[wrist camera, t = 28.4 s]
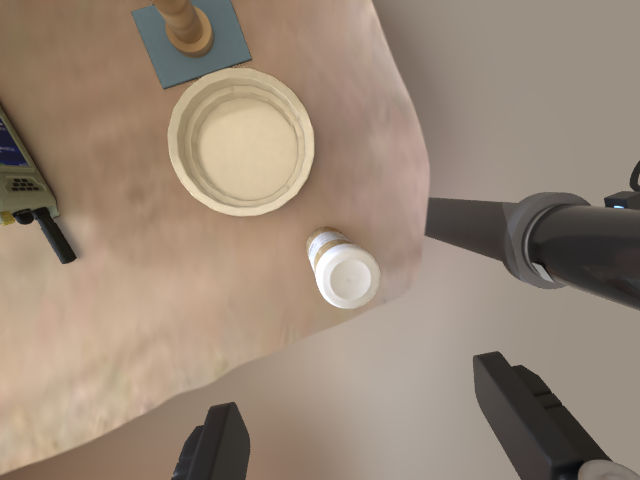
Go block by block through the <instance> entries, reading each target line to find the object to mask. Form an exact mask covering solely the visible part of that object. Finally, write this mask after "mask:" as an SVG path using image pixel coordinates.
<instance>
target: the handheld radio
mask: <svg viewBox="0 0 640 480" xmlns="http://www.w3.org/2000/svg"><path fill="white" fill-rule="evenodd" d="M21 213H22V214H21ZM14 214H15V215H14ZM17 214H18V215H17ZM12 215H13V216H12ZM59 215H60V213H59V211H58V208H57V206H56V200H55V198H54V196H53V195H52V193H51V191H50V189H49V188H48V186H47V184H46V183H45V181H44V179H43V178H42V176H41V174H40V173H39V171H38V169H37V167H36V166H35V164H34V162H33V161H32V159H31V157H30V156H29V154H28V152H27V150H26V149H25V147H24V145H23V144H22V142H21V140H20V139H19V137H18V135H17V133H16V132H15V130H14V128H13V127H12V125H11V123H10V122H9V120H8V118H7V116H6V115H5V113H4V111H3V110H2V108H1V106H0V224H2V225H9V224H12V223H14V222H15V219H16V220H17V222H18V223H20V224H23V225H26V224H30V223H32V222H33V220H34V218H35V220H37V221H38V223H39V224H40V226H41V229H42V231H43V233H44V234H45V236H46V238H47V239H48V241H49V243H50V244H51V246H52V248H53V249H54V251H55V253H56V254H57V256H58V258H59V259H60V261H61V263H62V264H67V263H70V262H72V261H74V260H75V259H76V258H77V257H76V255H75V254H74V252H73V250H72V249H71V247H70V245H69V244H68V242H67V240H66V239H65V237H64V235H63V234H62V232H61V230H60V229H59V227H58V225H57V224H56V223H54V221H53V219H52V218H54V217H56V216H59ZM13 218H15V219H13Z"/></svg>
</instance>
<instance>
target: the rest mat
mask: <svg viewBox="0 0 640 480" xmlns="http://www.w3.org/2000/svg"><path fill="white" fill-rule="evenodd" d="M191 2H192V4H193V6H195V7H197V8H199V9H200V10H202V11H203V12H204V13H205V15H206V16H207V18H208V20H209V22H210V24H211V26H212V29H213V32H214V43H213V46H212V48H211V50H210V51H209V52H208V53H207V54H206V55H204V56H202V57H199V58H189V57H186V56H184V55H182V54H181V53H180V52H178V51H177V49H176V48H175V47H174V46H173V44H172V43H171V42H170V40H169V38H168V36H167V34H166V29H165V23H166V21H165V20H164V18H163V17H162V15H161V14H160V12H159V11H158V10H157V8H156V7H155V5H151V6H148V7H145V8H142V9H139V10H136V11H132V12H131V13H132V16H133V18H134V20H135V23H136V25H137V28H138V30H139V32H140V35H141V37H142V40H143V42H144V44H145V47H146V49H147V52H148V54H149V56H150V59H151V61H152V64H153V66H154V68H155V71H156V73H157V76H158V78H159V80H160V83H161V85H162V88H163V89H166V88H169V87H172V86H175V85H178V84H181V83H184V82H187V81H190V80H193V79H196V78H199V77H202V76H205V75H207V74H210V73H213V72H216V71H219V70H222V69H225V68H228V67H231V66H234V65H237V64H240V63H243V62H246V61H249V60H252V58H251V55H250V53H249V50H248V47H247V44H246V42H245V39H244V36H243V33H242V31H241V28H240V25H239V22H238V20H237V17H236V14H235V11H234V9H233V6H232V3H231V0H191Z"/></svg>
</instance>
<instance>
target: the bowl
mask: <svg viewBox="0 0 640 480" xmlns="http://www.w3.org/2000/svg"><path fill="white" fill-rule="evenodd" d="M167 136H168V147H169V157H170V160H171V162H172V165H173V167H174V169H175V172H176V174H177V176H178V179H179V181H180V182H181V183H182V184H183V185H184V186H185V188H186V189H187V190H188V191H189V192H190V193H191V195H192V196H193V197H194V198H195V199H197V200H198V201H200V202H201V203H203V204H205V205H206V206H208V207H209V208H211V209H212V210H215V211H217V212H221V213H225V214H228V215H232V216H237V217H242V216H258V215H259V216H260V215H262V214H265V213H268V212H271V211H273V210H276V209H279V208H280V207H282V206H283V205H284V204H285V203H287V202H288V201H289V200H291V199H292V198H293V197H294V196H296V194H297V193H298V192H299V190H300V189H301V187H302V186H303V184H304V183H305V181H306V180H307V178H308V176H309V174H310V170H311V167H312V163H313V159H314V155H315V146H314V130H313V127H312V125H311V122H310V119H309V116H308V113H307V110H306V108H305V107H304V106H303V104H302V103H301V102H300V100H299V99H298V97H297V96H296V95H295V93H294V92H293V91H292V90H291V89H290V88H288V87H287V86H286V85H284V84H283V83H282V82H280V81H279V80H278V79H276V78H275V77H274V76H272V75H269V74H266V73H263V72H260V71H257V70H254V69H251V68H225V69H222V70H219V71H216V72H213V73H210V74H207V75H205V76H202V77H201V78H200V79H199V80H197V81H196V82H195V83H194V84H192V85H191V86H190V87H188V88H187V89H186V90H185V91H184V93H183V94H182V96H181V97H180V99H179V101H178V102H177V104H176V105H175V107H174V109H173V111H172V115H171V119H170V123H169V128H168V132H167Z"/></svg>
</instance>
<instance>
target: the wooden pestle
mask: <svg viewBox="0 0 640 480" xmlns="http://www.w3.org/2000/svg"><path fill="white" fill-rule="evenodd" d="M151 1H152V2H153V4H154V5H155V7H156V8H157V10H158V11H159V12H160V14H161V15H162V17H163V18H164V20H165V21H166V23H165V29H166V34H167V36H168V38H169V40H170V42H171V43H172V44H173V46H174V47H175V48H176V49H177V51H178V52H180V53H181V54H182V55H184V56H186V57H189V58H199V57H202V56H204V55H206V54H207V53H208V52H209V51H210V50H211V48H212V46H213V43H214V32H213V29H212V26H211V24H210V22H209V20H208V18H207V16H206V15H205V13H204V12H203V11H202V10H200V9H199V8H197V7H195V6H193V4H192V2H191V0H151Z"/></svg>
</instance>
